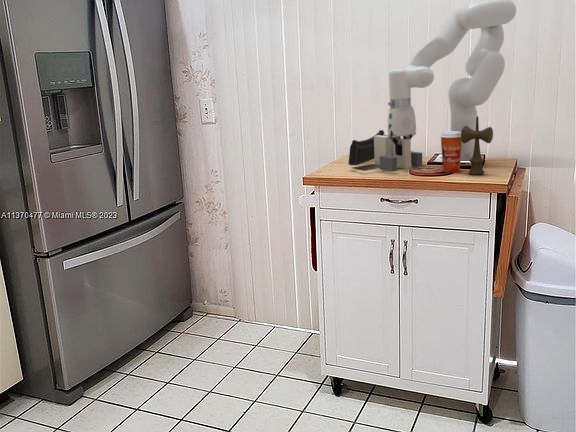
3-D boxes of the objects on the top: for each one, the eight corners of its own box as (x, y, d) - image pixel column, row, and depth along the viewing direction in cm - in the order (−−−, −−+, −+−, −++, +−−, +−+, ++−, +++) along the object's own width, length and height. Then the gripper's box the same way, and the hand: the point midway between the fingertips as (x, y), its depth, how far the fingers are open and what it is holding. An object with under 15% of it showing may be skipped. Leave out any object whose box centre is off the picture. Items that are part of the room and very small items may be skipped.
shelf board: (401, 167, 228) (401, 164, 228) (364, 174, 220) (364, 170, 220) (386, 164, 236) (386, 161, 235) (350, 170, 228) (350, 167, 227)
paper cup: (438, 173, 212) (438, 134, 208) (441, 169, 219) (441, 131, 215) (461, 173, 209) (461, 133, 205) (463, 169, 216) (464, 130, 212)
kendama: (466, 171, 212) (466, 114, 206) (493, 173, 206) (494, 115, 201) (459, 175, 207) (460, 116, 202) (487, 176, 201) (488, 117, 196)
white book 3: (411, 169, 219) (410, 139, 217) (406, 170, 218) (405, 140, 215) (399, 167, 225) (398, 138, 222) (394, 168, 224) (393, 138, 221)
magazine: (351, 146, 228) (384, 114, 248) (344, 145, 230) (377, 114, 250) (359, 185, 236) (390, 151, 256) (352, 184, 238) (383, 151, 258)
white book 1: (391, 165, 226) (390, 136, 223) (386, 166, 225) (385, 137, 222) (379, 163, 232) (378, 135, 229) (374, 164, 231) (373, 135, 228)
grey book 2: (422, 168, 222) (422, 152, 221) (417, 169, 221) (417, 153, 220) (409, 166, 228) (409, 150, 227) (405, 167, 227) (404, 151, 225)
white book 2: (400, 163, 228) (399, 135, 225) (395, 164, 227) (394, 135, 224) (388, 161, 234) (388, 133, 231) (383, 162, 233) (383, 134, 230)
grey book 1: (397, 173, 217) (396, 157, 215) (392, 174, 216) (391, 158, 214) (385, 171, 223) (384, 155, 221) (379, 172, 221) (379, 156, 220)
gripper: (389, 106, 209) (391, 158, 214) (424, 101, 216) (425, 151, 221) (376, 106, 215) (378, 156, 220) (410, 101, 222) (412, 150, 227)
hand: (402, 153), depth 220 cm, fingers closed on white book 3, 2 cm apart
